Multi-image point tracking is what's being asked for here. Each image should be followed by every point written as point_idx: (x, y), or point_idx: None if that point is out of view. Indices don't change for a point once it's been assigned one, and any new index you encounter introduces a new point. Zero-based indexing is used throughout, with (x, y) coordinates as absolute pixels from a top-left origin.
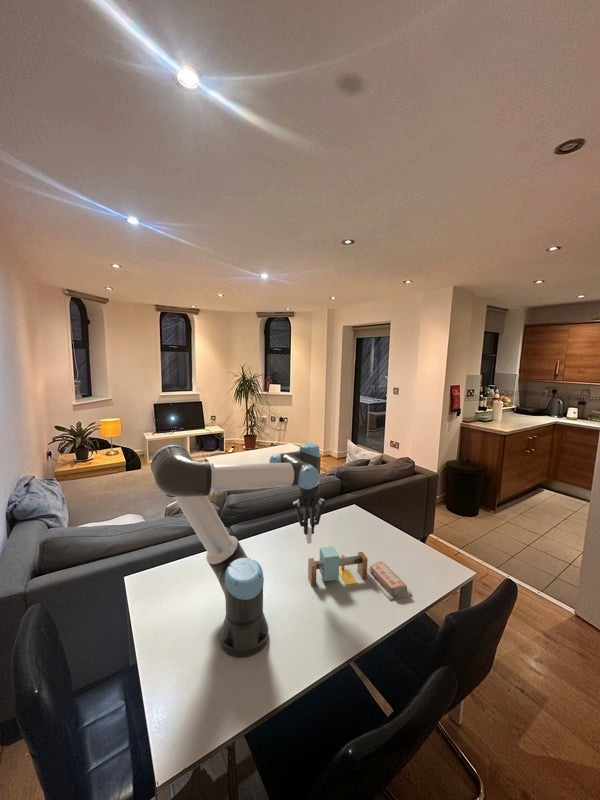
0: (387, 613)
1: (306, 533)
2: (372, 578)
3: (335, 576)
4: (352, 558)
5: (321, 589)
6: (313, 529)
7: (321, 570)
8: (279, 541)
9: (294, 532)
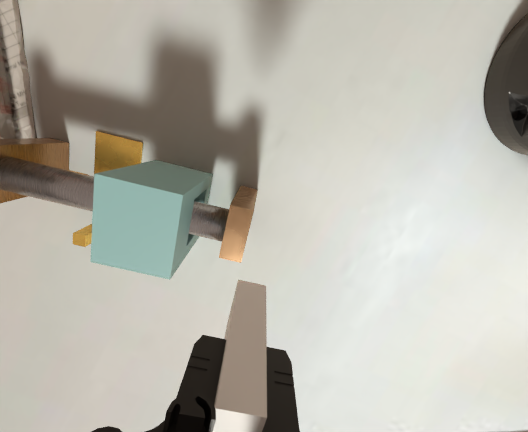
0: None
1: (272, 358)
2: (27, 120)
3: (164, 164)
4: (39, 179)
5: (232, 161)
6: (190, 377)
7: None
8: None
9: None
